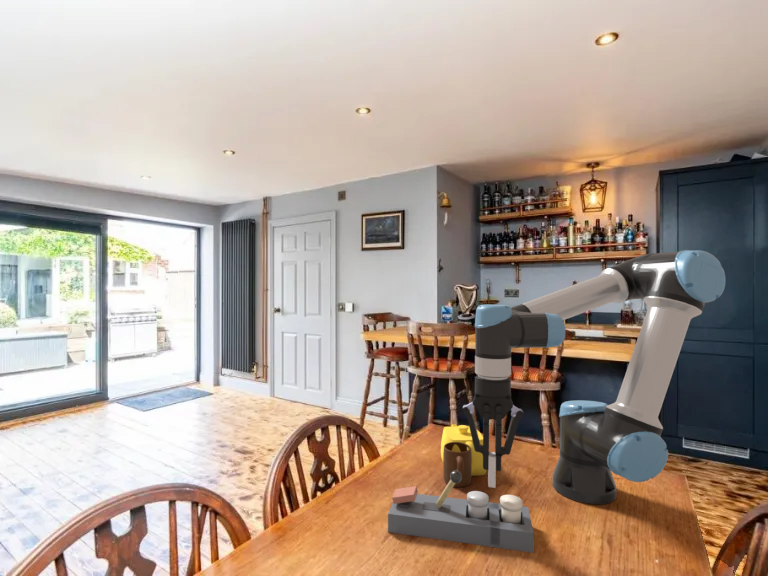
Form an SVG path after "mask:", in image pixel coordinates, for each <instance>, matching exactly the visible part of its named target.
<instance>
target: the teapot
mask: <svg viewBox="0 0 768 576" xmlns="http://www.w3.org/2000/svg"><path fill="white" fill-rule="evenodd" d="M477 433H478V437H479V441H480V444H481V445H483V434H482V433H481V432H480V431H479V430H478V429H477ZM441 436H442V437H441V443H440V457H441V461H442V463H443V452H444V445H445V444H447V443H450V442H460V443H465V444H467V445H469V446H470V447H471V454H472V468H471V477H472V476H485V475H487V472H488V470H484V468H483V454H482V453H480V452H476V451H475V449H474V445H473V440H472V436H471V432H470V428H469V425H464V424H461V425H457V424H451V426H445V427H443V431H442V435H441ZM467 450H469V449H468V447H467ZM452 451H454V452H461V451H460V449H459V447H458V446H457V445H454V446H453V448H452Z"/></svg>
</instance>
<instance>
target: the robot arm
mask: <svg viewBox="0 0 768 576" xmlns="http://www.w3.org/2000/svg"><path fill="white" fill-rule="evenodd" d="M725 287H726V274H725V270H724V268H723V266H722V264H721V262H720V261H719V259H718V258H717V257H715V255H713V254H712V253H710V252H708V251H705V250H697V249H696V250H691V249H690V250H689V249H684V250H680V251H670V252H669V251H668V252H657V253H647V254H642V255H639V256H636V257H634V258H631V259H627V260H625V261H623V262H619V263H618V264H616V265H615V264H614V265H613V266H610V267H607V268H605V269H603V270H601V272H600V274H599V275H597V276H594V277H591V278H588V279H586V280H583V281H581V282H577V283H575V284H572V285H569V286H567V287H564V288H561V289H559V290H555V291H554V292H553V291H552V292H550V293H548V294H545V295H542V296H539V297H537V298H534V299H531V300H529V301H526V302H523V303H521V304H518V305H515V306H512V307H511V306H510V305H508V304H489V303H487V304H480V305H478V306H477V308H476V310H475V323H474V328H475V330H474V333H475V335H474V336H475V337H474V338H475V343H474V344H475V345H474V346H475V353H474V354H475V355H474V373H475V374H476V376H474V396H473V398H472V401H471V402H469V403H468V404H463V406H462V412H463V414H464V416H465V417H466V419H467V423H468V426H469V428H470V432H471V436H472V440H473V445H474V449H475V451H476V452H480V453H482V454H483V468H484V470H487V475H488V477H487V483H488V484H487V485H488V488H494V489H496V488H497V487H496V484H497V483H496V481H497V479H496V476H497V475H496V473H497V472H501V470H502V457H503V456H505V455H507V456H508V455H510V454H511V451H512V448H513V444H514V440H515V436H516V433H517V428H518V425H519V422H520V421H521V420H522V418H523V417H524V411H523V409H522V408H520V407H519V408H518V407H517V406H515V405H514V403H513V400H512V392H511V391H512V390H511V389H512V386H511V385H512V380H511V378H510V376H511V375H512V349H525V348H526V349H530V348H531V349H532V348H535V349H540V348H545V349H548V348H557V347H559V346H560V345H562V343H564V341H565V339H566V324H565V322H564V321H565V320H567V319H570V318H573V317H575V316H579V315H582V314H584V313H586V312H589V311H591V310H594V309H597V308H600V307H602V306H605V305H607V304H610V303H614V304H615V303H616V304H621V303H623V302H627V301H631V300H641V299H643V302H644V303H645V304H646V306H647V311H646V313H645V316H644V319H643V321H642V325H641V328H640V331H639V333H638V336H637V340H636V343H635V345H634V348H633V351H632V354H631V357H630V360H629V363H628V365H627V368H626V372H625V375H624V378H623V381H622V383H621V386H620V389H619V391H618V395H617V398H616V400H615V402H613V403H611V404H608V403H606V402H601V401H596V400H581V399H579V400H578V399H577V400H568V401H564V402H562V403H561V405H560V408H559V415H558V417H559V457H558V460H557V462H556V465H555V468H554V470H553V473H552V481H551V483H552V487H553V488H554V490H555V491H556V492H558V493H559V494H560V495H562V496H564V497H566V498H568V499H570V500H572V501H575V502H580V503H583V504H590V505H604V504H605V505H606V504H610V503H613V502H615V500H616V499H617V485H616V482H615V478H614V476H613V473H614V474H615V475H616V476H619V477H621V478H624V479H626V480H628V481H630V482H633V483H643V482H648V481H649V480H650V479H654V478H655V477H657V476H658V475H660V473H661V472H662V471H663V470H664V468H665V466H666V464H667V462H668V459H669V450H668V449H667V446H668V445H667V443H666V441H665V440H664V439H663V438H662V437H661V436H662V432H663V431H664V427H663V425H662V423H661V421H660V419H659V415H660V412H661V409H662V407H663V403H664V400H665V398H666V394H667V392H668V388H669V386H670V382H671V380H672V376H673V373H674V370H675V369H676V365H677V361H678V360H679V359H678V358H679V356H680V352H681V350H682V347H683V343H684V341H685V338H686V334H687V331H688V329H689V325H690V322H691V320H692V319H693V318H695V317H698V316H700V315H702V313H703V310H704V307H705V304H706V303H710V302H714V301H715V300H716V299H718V298H720V297H721V296H722V294H723V292H724V291H725V289H726V288H725ZM475 410H476V411H477V413H478V414H479V415H480V417H481V418H482V419H483V420H482V422H483V423H482V424H483V425H482V427H483V428H482V430H483V431H482V436H483V445H481V444H480V441H479V437H478V433H477V430H478V429H477V426H476V421H475V417H474V412H475ZM510 411H511V412H510ZM509 412H510V416H511V419H510V423H509V426H508V430H507V434H506V438H505V441H504V445H503V443H502V439H503V438H502V434H503V433H502V431H503V429H502V427H503V426H502V424H503V419H505V417H506V416H507V415H508V413H509ZM490 420H491V421H492V420H493V421H494V422H495V424H494V427H495V428H494V429H495V430H494V431H495V433H494V434H495V435H494V437H495V438H494V440H495V441H494V447H495V448H494V449H495V450H494V451H495V452H494V451H490ZM502 445H503V446H502Z"/></svg>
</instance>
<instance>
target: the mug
mask: <svg viewBox="0 0 768 576" xmlns="http://www.w3.org/2000/svg"><path fill="white" fill-rule="evenodd" d="M454 445H457V446H458V447H459V449H460V451H461V452H454V451H452V448H453V446H454ZM467 447H468V449H469V450H467ZM442 464H443V465H442V466H443V467H442V469H443V471H442V472H443V474H442V476H443V481H444V482H445V483H446V484H448V483H449V481H450V480H451V479H450V474H451V472H452V471H454V470H457V471H459V472H460V473H461V475H462V480H461V481H460V482H459V483H455V485H454V486H453V487H456V488H463V487H467V486H469V485H470V484H471V482H472V476H471V468H472V454H471V447H470V446H469V445H467V444H465V443H460V442H450V443H447V444H445V445H444V452H443V462H442Z"/></svg>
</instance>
